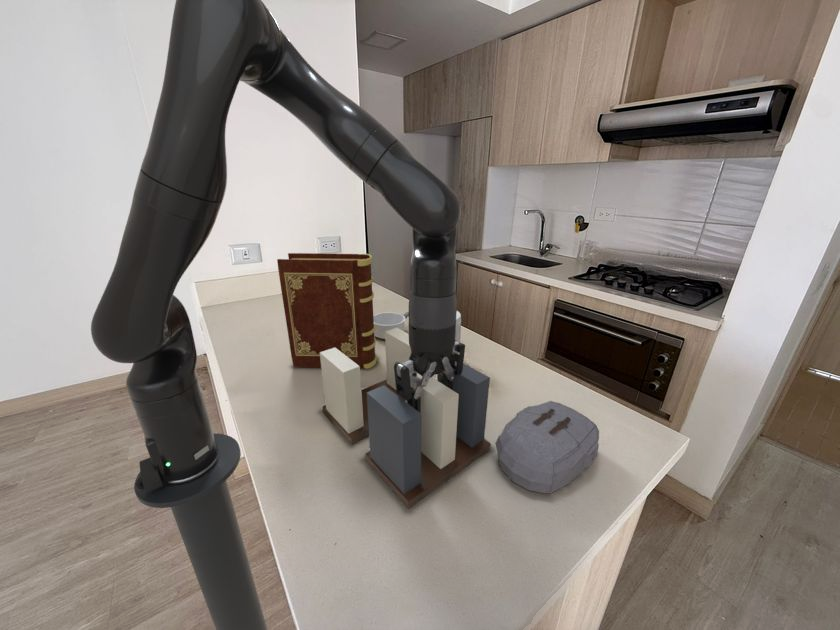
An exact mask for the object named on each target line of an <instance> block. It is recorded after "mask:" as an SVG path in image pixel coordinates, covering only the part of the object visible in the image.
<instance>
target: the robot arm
mask: <svg viewBox="0 0 840 630" xmlns="http://www.w3.org/2000/svg"><path fill="white" fill-rule="evenodd" d="M240 82H243V83H245V84H246V85H248V86H249V87H251V88H253V90H256V91H258V92H259V93H261V94H262V95H264V96H266V97H267V98H269V99H270V100H272V101H273V102H275V103H276V104H278V105H279V106H281V108H283V109H285V110H286V111H287V112H288V113H290V114H291V115H292V116H294V117H295V118H296V119H297V120H298V121H299V122H301V124H303V126H305V128H307V129H308V130H309V132H311V133H312V134H313V135H314V136H315V138H317V139H318V140H319V142H320V143H321V144H322V145H324V146H325V148H326V149H327V150H328V151H329V152H330V153H331V154H332V155H333V156H334V157H335V158H337V160H339V162H341V163H342V164H343V165H344V166H345V167H346V168H347V169H348V170H350V171H351V172H352V173H353V174H354V175H355V176H357V177H358V178H359V179H360V180H361V181H362V182H363V183H365V184H366V185H367V186H368V187H369V188H370V189H372V190H373V191H375V192H376V193H377V194H379V196H381V197H382V198H383V199H384V201H385V202H386V203H387V204H388V205H389V206H390V207H391V208H392V209H393V211H394V212H396V213H397V214H398V216H399V217H400V218H401V219H402V220H403V221H404V222H406V224H407V225H409V227H411V232H412V233H411V234H412V235H411V236H412V237H411V238H412V254H411V259H410V266H409V297H408V298H409V299H408V312H409V316H408V334H409V345H410V348H411V355H410V357H409V360H408V361H406V362H404V363H402V364H401V363H399V362H396V363H395V364H394V373H395V383H396V392H397V393H398V394H399V395H401V396H402V397H403V398H404V399H405V400H407V403H408V404H409V405H410V406H412V407H413V408H414V409H416V410H417V411H418V412H419V413H421V397H419V396H420V394H421V392H422V389H423V387H426V386H427V383H428V381H429V379H430V378H431V377H432V378H433V377H434V376H435V375H437V374H439V373H440V374H441V376H443V377H441V379H440V383H442V384H443V385H445V386H447V387H448V388H450V389H451V390H453V381H454V380H455V376H456V375H457V374H458V375H460V374H461V373H462V370H463V363H464V360H465V352H466V345H465V344H464V343H463V342H461V341H460V342H458V341H456V340H455V333H456V312H457V311H458V309H457V308H458V304H457V303H458V302H457V275H458V273H457V272H458V270H457V269H458V268H457V265H458V264H457V257H456V243H457V230H458V223H459V222H460V220H461V219H460V218H461V213H462V209H461V201H460V199H459V197H458V195H457V193H456V192H455V191H454V190H453V189H452V188H451V187H450V186H449V185H448V184H446V183H445V182H444V181H443V180H441V179H440V178H439V177H438V176H437V175H436V174H434V173H433V172H432V171H431V170H429V169H428V168H427V167H426V166H424V165H423V164H422V163H421V162H419V160H417V159H416V158H415V157H414V156H413V155H412V153H411V152H410V151H409V149H407V147H406V145H404V144H403V143H402V142H401V141H400V140H398V138H397V137H396V136H394V134H392V133H391V132H390V131H389V130H388V129H387V128H386V127H385V126H384V125H383V124H382V123H380V121H378V120H377V119H376V118H375V117H374V116H373V115H371V114H370V113H369V112H367V111H366V110H365V109H364V108H363V107H361V106H360V105H359V104H357V103H356V102H354V100H352V99H351V98H349V97H348V96H346V95H345V94H344V93H342V92H341V91H340V90H338V89H337V88H336V87H334V86H333V85H332V84H331V83H329V82H328V81H327V80H326V79H325V78H324V77H322V76H321V74H320V73H318V71H316V69H314V68H313V67H312V66H311V65H310V63H308V61H307V60H306V59H305V58H304V57H303V56H302V54H301V53H300V52H299V51H298V49H297V48H296V47H295V45H294V44H293V43H292V42H291V41H290V40H289V38H288V37H287V35H286V34H285V33H284V32H283V30H282V29H281V28H280V26H279V25H278V23H277V20H276V19H275V17H274V15H273V14H272V13H271V10H269V9H268V7H267V6H266V4H265V3H264V2H263V0H175V3H174V8H173V14H172V21H171V27H170V35H169V42H168V50H167V57H166V63H165V71H164V76H163V82H162V87H161V92H160V96H159V100H158V104H157V108H156V111H155V115H154V119H153V123H152V127H151V132H150V136H149V140H148V144H147V147H146V150H145V154H144V157H143V159H142V162H141V166H140V169H139V173H138V176H137V180H136V183H135V187H134V190H133V195H132V200H131V205H130V209H129V212H128V217H127V220H126V223H125V226H124V230H123V234H122V238H121V242H120V245H119V249H118V254H117V257H116V260H115V264H114V267H113V270H112V272H111V274H110V277H109V280H108V282H107V283H106V287H105V288H104V290H103V293H102V295H101V297H100V300H99V301H98V303H97V306H96V309H95V311H94V313H93V316H92V319H91V323H90V332H91V338H92V342H93V343H94V345H95V347H96V349H97V350H98V351H99V352H100V354H102V355H103V356H104V357H105V358H107V359H109V360H110V361H111V362H112V361H113V362H116V363H120V364H132V366H131V369H130V371H129V373H128V375H127V377H126V380H125V387H126V390H127V393H128V396H129V398H130V401H131V403H132V407H133V409H134V412H135V414H136V417H137V420H138V422H139V425H140V428H141V430H142V434H143V435H144V443H145V448H146V450H147V452H148V455H149V457H148V458H145V459H142V460H140V461H139V462H138V463H139V472H140V474H141V476H140V477H139V479H138V480H137V482H136V487H137V488H138V489H141V490H145V491H146V493H148V492H150V491H152V490H155V489H157V488H159V487H162V488H164V487H166V486H169V485H181V484H186V483H189V482H192V481H194V480H196V479H198V478H200V477H202V476H203V475H205V474H206V473H207V472H209V471H210V470H211V469H212V468H213V467H214V466H215V464H216V463H217V461H218V459H219V451H218V448H217V445H216V442H215V439H214V435H213V434H214V432H213V431H214V430H213V428H212V424H211V421H210V417H209V414H208V410H207V407H206V404H205V403H206V402H205V399H204V396H203V392H202V388H201V385H200V381H199V377H198V373H197V363H198V352H197V348H196V343H195V338H194V337H195V336H194V334H193V333H194V332H193V329H192V325H191V319H190V316H189V314H188V311H187V309H186V307H185V306H184V304H183V303H182V301H181V300H180V299H179V298H178V297H177V296H176V295H175V291H176V289H177V286H178V284H179V282H180V280H181V278H182V277H183V276H184V273H185V272H187V269H188V268H189V267H190V265H191V264H192V263H193V261H194V260H195V258H196V257H197V255H199V253H200V251H201V250H202V248H203V247H204V246H205V243H206V242H207V240H208V238H209V237H210V235H211V233H212V230H213V228H214V226H215V224H216V222H217V218H218V215H219V213H220V211H221V207H222V204H223V201H224V198H225V195H226V190H227V186H228V185H227V184H228V161H227V158H228V157H227V148H226V131H227V130H226V129H227V121H228V115H229V112H230V108H231V105H232V102H233V99H234V98H235V97H234V96H235V94H236V91H237V88H238V85H239V83H240ZM455 361H456V362H457V366H456V365H455ZM417 373H418V374H419V375H421V376H423V377H422V379H420V378H419V377H417ZM415 383H416V384H417V385H416V388H415V389H413V388H414V385H415Z"/></svg>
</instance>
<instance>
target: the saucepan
mask: <svg viewBox="0 0 840 630" xmlns="http://www.w3.org/2000/svg"><path fill="white" fill-rule="evenodd" d="M408 318H409V311H406V312H405V313H403V314H402V313H399V312H394V311H393V312H392V311H385V312H380V313H375V314H373V319H374V324H375V331H374V337H375V338H376V337H377V338H378V339H382V340H385V331H389V330H392V329H395V328H398V329H400V330H402V331H404V332H405V321H406V320H407V319H408Z"/></svg>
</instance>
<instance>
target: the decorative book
mask: <svg viewBox="0 0 840 630" xmlns="http://www.w3.org/2000/svg"><path fill="white" fill-rule="evenodd" d="M287 257H288V258H287V259H286V258H277V260H276V262H277V270H278V275H279V276H278V277H279V283H280V291H281V297H282V303H283V309H284V317H285V323H286V331H287V337H288V343H289V349H290V356H291V362H292V366H293V367H294V368H320V369H321V360H320V352H322V351H325V350H329V349H332V348H337V349H338V350H339V351H341V352H342V353H343V354H344V355H346V356H347V357H348V358H350V359H351V360H352V361H353V362H355V363H356V364H357V365H359V366H360V369H361V368H363V369H366V370H368V369H371V368H373V367H374V366H375V365H376V363H377V359H378V358H377V353H376V345H377V339H376V336H374V331H375V324H374V319H373V316H374V304H373V303H374V300H373V299H374V297H375V293H374V291H373V283H374V277H373V276H372V263H373V256H372V255H371V254H369V253H321V252H319V253H318V252H317V253H314V252H313V253H311V252H310V253H309V252H288V253H287Z"/></svg>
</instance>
